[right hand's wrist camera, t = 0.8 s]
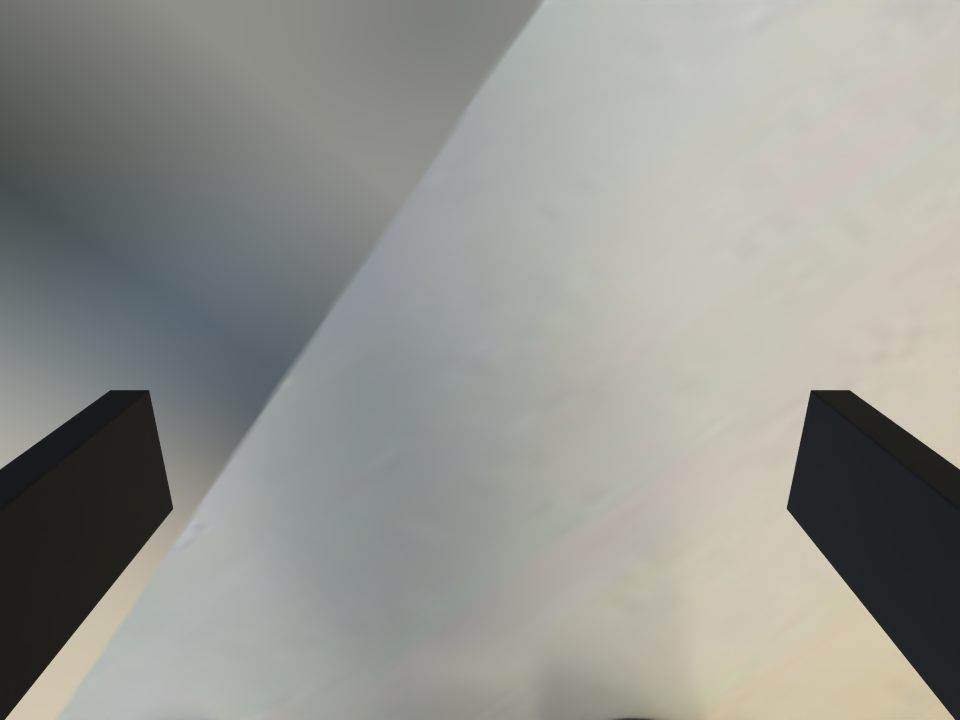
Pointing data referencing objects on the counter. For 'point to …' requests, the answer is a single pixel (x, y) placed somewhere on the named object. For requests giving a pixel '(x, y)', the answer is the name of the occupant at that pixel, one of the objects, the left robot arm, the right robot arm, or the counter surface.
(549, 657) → the counter surface
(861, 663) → the counter surface
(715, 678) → the counter surface
